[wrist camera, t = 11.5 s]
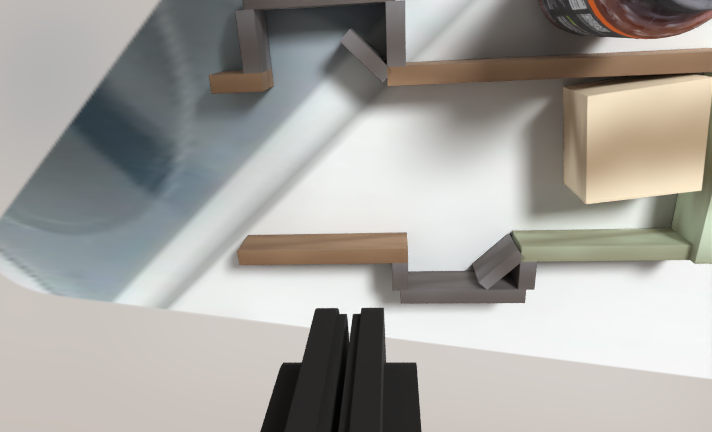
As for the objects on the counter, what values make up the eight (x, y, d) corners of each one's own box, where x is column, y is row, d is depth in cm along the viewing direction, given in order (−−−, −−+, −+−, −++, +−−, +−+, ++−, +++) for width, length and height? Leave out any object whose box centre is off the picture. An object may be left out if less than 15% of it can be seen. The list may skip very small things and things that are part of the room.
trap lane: (212, -6, 27) (191, -9, 24) (748, -39, 25) (793, -47, 22) (255, 285, 34) (243, 308, 32) (674, 282, 32) (701, 306, 29)
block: (562, 86, 28) (587, 96, 24) (670, 70, 27) (713, 77, 24) (562, 182, 30) (585, 204, 26) (663, 169, 29) (701, 190, 26)
